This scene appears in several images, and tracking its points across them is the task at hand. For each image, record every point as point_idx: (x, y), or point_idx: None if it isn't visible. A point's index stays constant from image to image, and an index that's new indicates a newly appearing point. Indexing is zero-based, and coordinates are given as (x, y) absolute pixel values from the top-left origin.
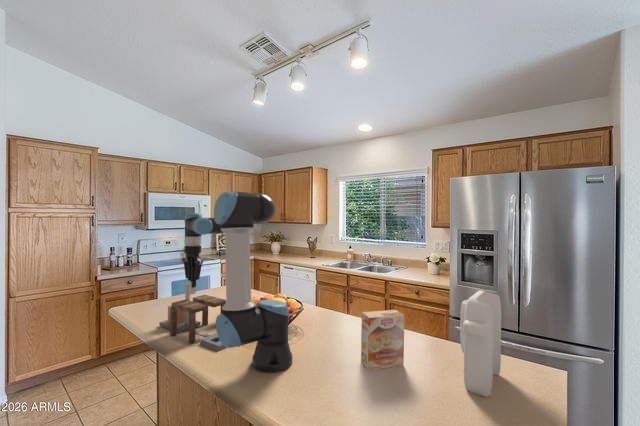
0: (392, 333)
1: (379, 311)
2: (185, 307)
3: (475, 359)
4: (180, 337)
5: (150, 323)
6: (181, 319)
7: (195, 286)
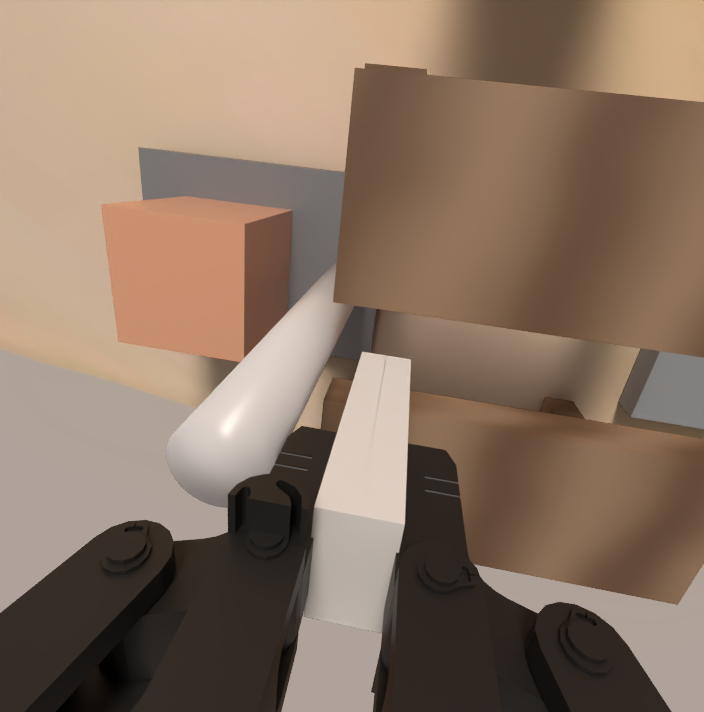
0: None
1: None
2: (548, 574)
3: None
4: (430, 382)
5: (77, 305)
6: (280, 279)
7: (449, 468)
